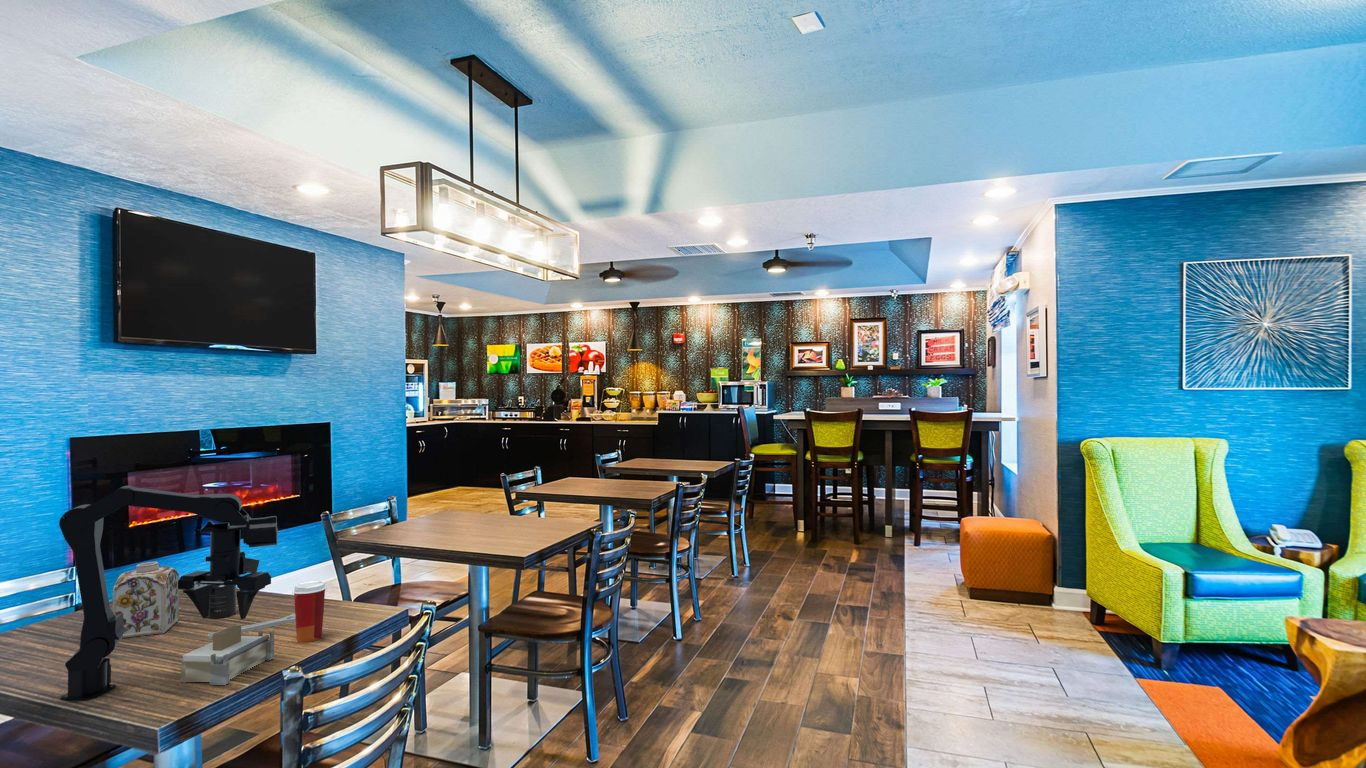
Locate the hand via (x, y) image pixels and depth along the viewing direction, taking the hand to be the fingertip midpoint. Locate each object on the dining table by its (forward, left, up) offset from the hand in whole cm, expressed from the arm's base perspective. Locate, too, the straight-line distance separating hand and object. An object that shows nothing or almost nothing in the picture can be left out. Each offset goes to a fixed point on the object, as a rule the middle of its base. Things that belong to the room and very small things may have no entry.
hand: (224, 618), depth 152 cm
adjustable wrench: (+29, +12, -12) cm, 34 cm away
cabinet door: (0, 0, -7) cm, 7 cm away
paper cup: (+21, -6, -12) cm, 25 cm away
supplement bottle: (+38, +32, -12) cm, 51 cm away
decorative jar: (+25, +43, -12) cm, 51 cm away
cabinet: (0, 0, -12) cm, 12 cm away
